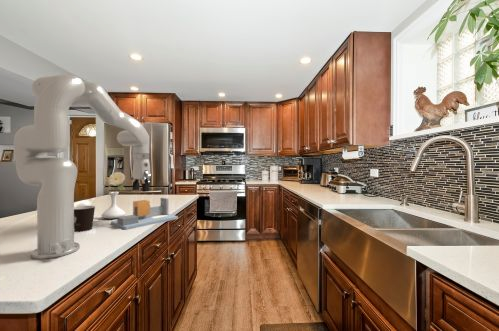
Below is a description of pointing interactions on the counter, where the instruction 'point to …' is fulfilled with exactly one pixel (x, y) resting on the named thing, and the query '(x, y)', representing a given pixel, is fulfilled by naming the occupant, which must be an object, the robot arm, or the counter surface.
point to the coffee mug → (83, 218)
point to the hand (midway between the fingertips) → (140, 190)
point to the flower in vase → (114, 209)
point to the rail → (145, 217)
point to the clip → (142, 207)
